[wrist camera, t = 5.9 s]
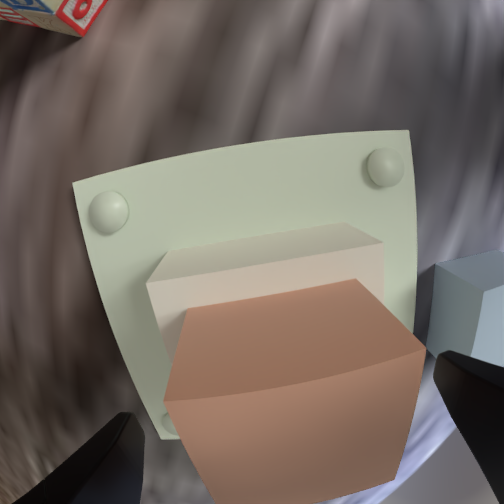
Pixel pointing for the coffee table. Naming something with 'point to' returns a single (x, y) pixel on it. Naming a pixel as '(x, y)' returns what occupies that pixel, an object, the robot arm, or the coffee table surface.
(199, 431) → the brick terracotta
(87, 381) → the coffee table surface
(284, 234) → the brick cream
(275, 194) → the baseplate
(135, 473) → the robot arm
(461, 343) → the brick blue
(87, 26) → the stack of blocks
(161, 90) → the coffee table surface
